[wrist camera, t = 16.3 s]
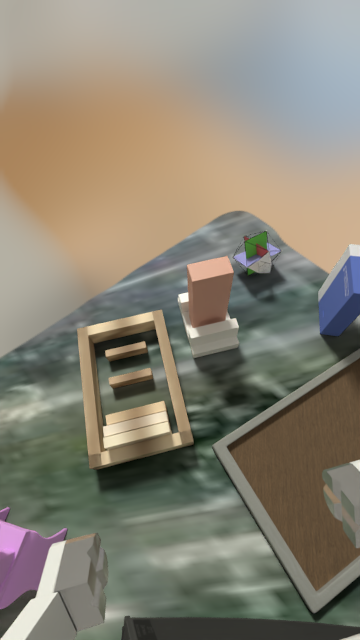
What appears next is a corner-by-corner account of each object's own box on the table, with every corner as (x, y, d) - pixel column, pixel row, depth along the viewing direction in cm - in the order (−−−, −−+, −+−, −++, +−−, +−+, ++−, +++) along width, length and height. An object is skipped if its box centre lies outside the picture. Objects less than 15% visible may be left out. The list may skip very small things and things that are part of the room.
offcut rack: (96, 469, 40) (84, 467, 36) (83, 337, 49) (72, 322, 45) (193, 444, 41) (193, 439, 37) (163, 318, 50) (160, 302, 46)
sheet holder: (193, 358, 47) (193, 346, 43) (178, 303, 52) (176, 288, 48) (237, 347, 47) (241, 334, 43) (218, 293, 52) (220, 278, 48)
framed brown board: (211, 445, 40) (380, 334, 46) (211, 446, 42) (375, 338, 48) (314, 616, 32) (502, 454, 38) (308, 610, 34) (491, 455, 40)
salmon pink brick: (193, 330, 47) (192, 281, 36) (189, 316, 49) (187, 264, 37) (224, 323, 48) (233, 272, 36) (220, 309, 49) (227, 255, 37)
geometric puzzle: (221, 245, 54) (241, 237, 46) (254, 230, 55) (279, 220, 48) (237, 283, 56) (259, 281, 48) (268, 267, 57) (295, 263, 49)
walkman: (338, 336, 48) (379, 294, 37) (319, 334, 48) (354, 291, 37) (335, 293, 51) (372, 243, 40) (318, 291, 51) (349, 241, 41)
